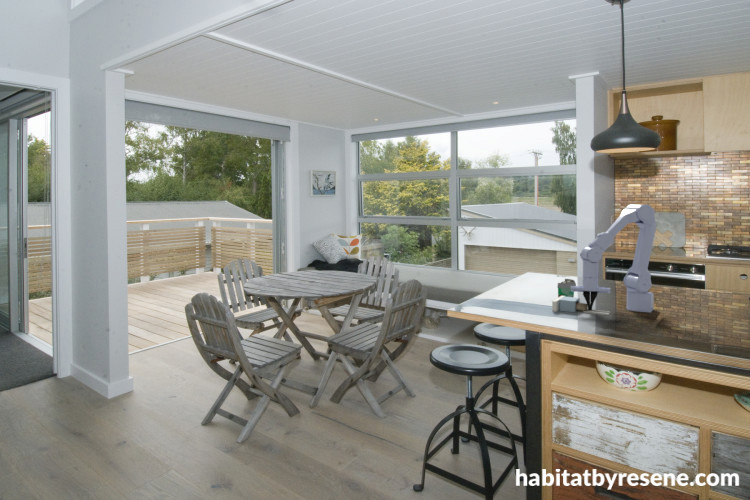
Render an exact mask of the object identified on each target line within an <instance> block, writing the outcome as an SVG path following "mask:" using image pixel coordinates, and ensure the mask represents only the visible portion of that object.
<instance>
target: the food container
mask: <svg viewBox="0 0 750 500" xmlns="http://www.w3.org/2000/svg"><path fill="white" fill-rule="evenodd" d="M571 286H577V283H576V280H575V279H571V278H564V280H563V281H561V282H557V296H558V297H560V296H565V297H575V291H574V292H571ZM558 297H557V298H558Z"/></svg>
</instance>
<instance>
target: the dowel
mask: <svg viewBox="0 0 750 500" xmlns="http://www.w3.org/2000/svg"><path fill="white" fill-rule="evenodd" d="M587 309H588V306H587V303H585V302H580V303H576V310H577V311H581V312H583V311H587Z"/></svg>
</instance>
